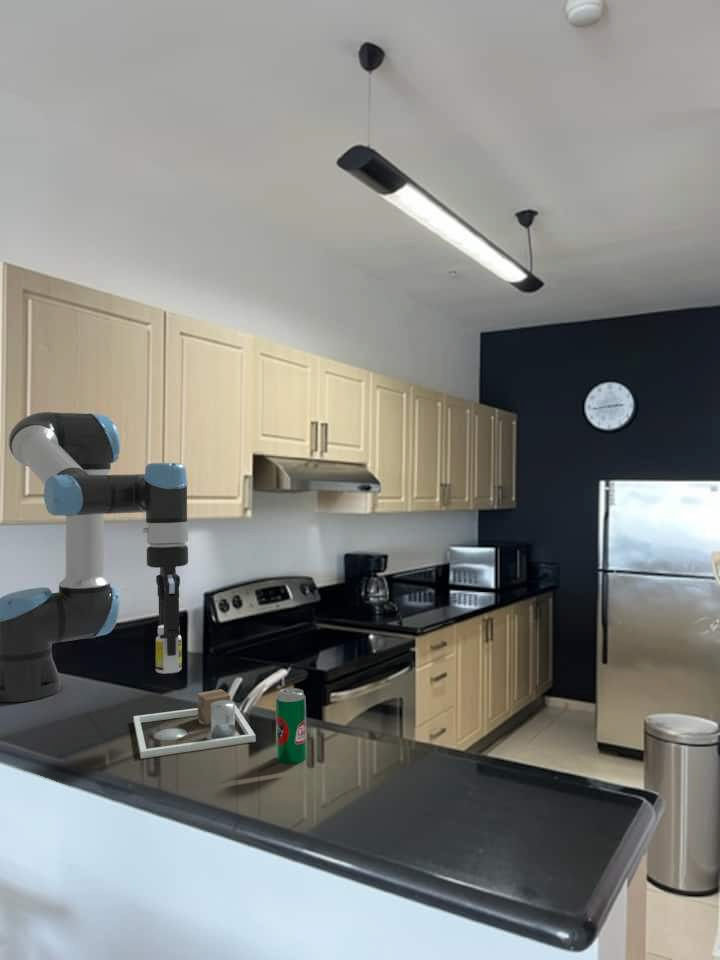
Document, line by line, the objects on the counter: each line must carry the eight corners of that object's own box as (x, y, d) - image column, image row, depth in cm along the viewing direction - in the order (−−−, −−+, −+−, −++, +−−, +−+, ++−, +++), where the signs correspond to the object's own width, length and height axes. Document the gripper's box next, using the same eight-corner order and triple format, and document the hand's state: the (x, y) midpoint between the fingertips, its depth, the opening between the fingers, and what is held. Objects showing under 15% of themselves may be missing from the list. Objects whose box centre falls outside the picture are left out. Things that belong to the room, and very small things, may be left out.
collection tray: (133, 725, 141) (133, 716, 141) (234, 712, 148) (234, 703, 148) (140, 762, 122) (140, 751, 122) (255, 745, 129) (255, 735, 129)
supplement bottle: (176, 674, 131) (176, 628, 131) (151, 673, 132) (151, 628, 132) (185, 667, 136) (185, 623, 136) (161, 666, 136) (161, 623, 136)
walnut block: (197, 718, 143) (197, 693, 142) (221, 713, 145) (221, 689, 145) (206, 725, 138) (205, 699, 138) (230, 720, 141) (230, 695, 141)
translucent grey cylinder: (209, 733, 134) (208, 701, 134) (232, 730, 135) (232, 698, 135) (213, 741, 129) (212, 708, 129) (237, 738, 131) (236, 705, 131)
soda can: (301, 768, 119) (300, 696, 118) (272, 766, 120) (271, 695, 120) (310, 757, 123) (309, 688, 123) (282, 755, 125) (281, 686, 124)
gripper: (142, 542, 141) (145, 660, 141) (150, 549, 124) (153, 683, 124) (181, 540, 144) (183, 656, 144) (194, 547, 127) (196, 678, 127)
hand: (169, 668), depth 134 cm, fingers closed on supplement bottle, 5 cm apart
